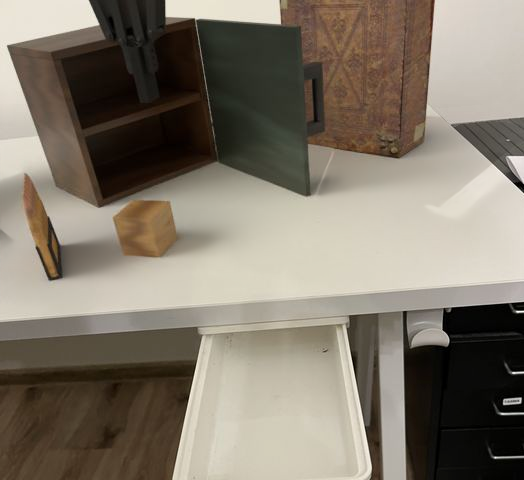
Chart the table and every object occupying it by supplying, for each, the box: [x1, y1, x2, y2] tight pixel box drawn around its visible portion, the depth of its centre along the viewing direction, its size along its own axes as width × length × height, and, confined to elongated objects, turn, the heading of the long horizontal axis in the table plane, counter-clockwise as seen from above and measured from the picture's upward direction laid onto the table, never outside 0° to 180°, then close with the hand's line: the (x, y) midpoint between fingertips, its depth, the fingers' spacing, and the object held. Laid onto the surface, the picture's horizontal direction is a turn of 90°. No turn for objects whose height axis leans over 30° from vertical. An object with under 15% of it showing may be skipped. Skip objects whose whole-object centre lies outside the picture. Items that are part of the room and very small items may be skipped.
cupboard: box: [6, 16, 218, 209], centre depth 100 cm, size 18×26×24 cm
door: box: [195, 18, 325, 197], centre depth 92 cm, size 7×26×24 cm, turn 37°
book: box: [278, 0, 436, 159], centre depth 99 cm, size 25×9×30 cm, turn 49°
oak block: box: [112, 199, 179, 259], centre depth 79 cm, size 6×6×6 cm
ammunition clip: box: [21, 173, 63, 281], centre depth 77 cm, size 11×2×12 cm, turn 18°
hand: (150, 99), depth 73 cm, fingers closed
